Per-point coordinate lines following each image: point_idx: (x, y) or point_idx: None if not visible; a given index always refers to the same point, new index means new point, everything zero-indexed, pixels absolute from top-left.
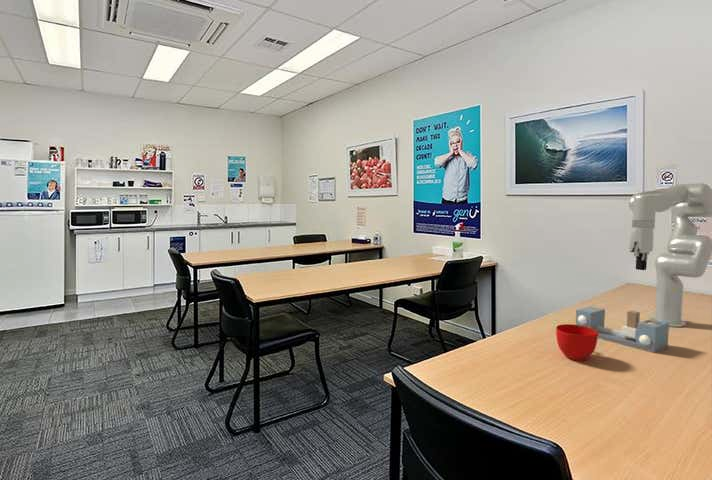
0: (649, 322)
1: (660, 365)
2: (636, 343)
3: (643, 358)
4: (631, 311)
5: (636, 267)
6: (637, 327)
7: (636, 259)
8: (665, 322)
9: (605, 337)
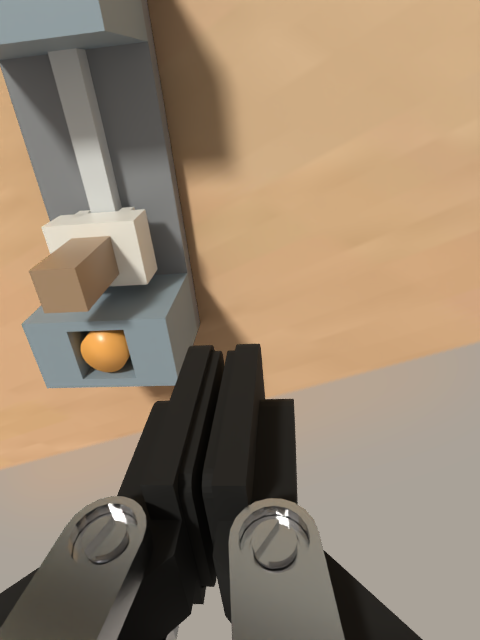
0: (106, 336)
1: (13, 380)
2: None
3: (12, 334)
4: (53, 281)
5: (187, 370)
6: (32, 316)
7: (91, 517)
8: (163, 378)
9: (31, 150)
